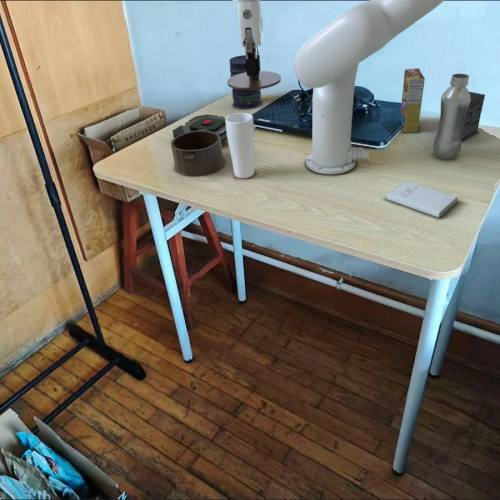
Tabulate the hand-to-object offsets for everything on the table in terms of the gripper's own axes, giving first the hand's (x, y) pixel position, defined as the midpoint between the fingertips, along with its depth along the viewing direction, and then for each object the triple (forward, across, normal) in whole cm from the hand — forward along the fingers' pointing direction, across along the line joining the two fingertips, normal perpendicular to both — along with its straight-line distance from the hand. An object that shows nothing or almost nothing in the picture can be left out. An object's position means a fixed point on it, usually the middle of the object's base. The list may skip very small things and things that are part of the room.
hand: (253, 72), depth 117 cm
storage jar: (+21, +36, +7) cm, 42 cm away
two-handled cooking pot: (+21, -10, +16) cm, 28 cm away
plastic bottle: (+21, -9, -48) cm, 54 cm away
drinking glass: (+21, -16, +3) cm, 26 cm away
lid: (+2, 0, 0) cm, 2 cm away
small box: (+21, +4, -55) cm, 59 cm away
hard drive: (+21, -30, -38) cm, 53 cm away
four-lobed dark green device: (+21, +10, +16) cm, 28 cm away
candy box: (+21, +11, -43) cm, 49 cm away
